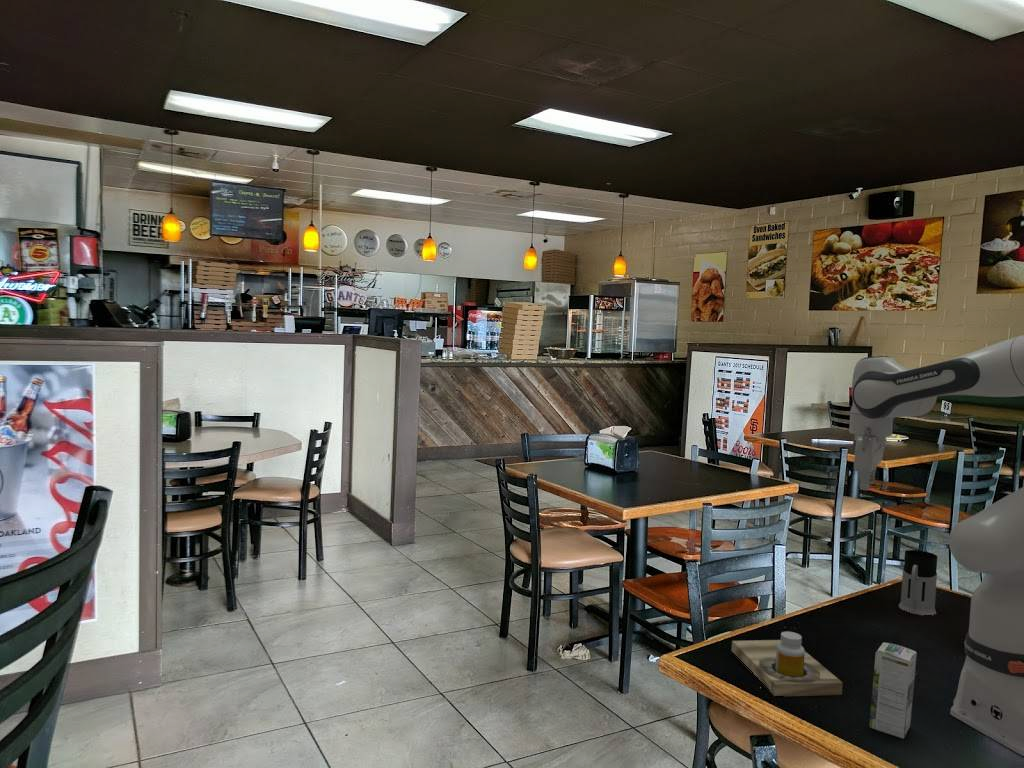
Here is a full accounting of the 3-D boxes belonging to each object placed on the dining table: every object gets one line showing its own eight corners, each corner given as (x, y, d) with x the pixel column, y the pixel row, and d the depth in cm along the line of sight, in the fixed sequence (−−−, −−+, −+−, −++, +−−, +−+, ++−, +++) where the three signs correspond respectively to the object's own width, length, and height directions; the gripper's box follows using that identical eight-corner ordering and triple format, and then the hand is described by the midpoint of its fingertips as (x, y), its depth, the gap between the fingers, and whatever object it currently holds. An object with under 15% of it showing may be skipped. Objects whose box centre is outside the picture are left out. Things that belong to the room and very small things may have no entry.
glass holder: (938, 609, 188) (942, 554, 187) (929, 624, 177) (933, 566, 176) (902, 600, 194) (905, 547, 193) (890, 615, 183) (894, 558, 182)
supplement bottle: (807, 688, 142) (810, 641, 141) (780, 687, 142) (783, 640, 141) (796, 675, 147) (799, 630, 147) (771, 674, 147) (773, 629, 147)
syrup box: (876, 715, 132) (881, 640, 131) (911, 727, 128) (917, 649, 127) (868, 728, 128) (873, 650, 127) (905, 740, 124) (911, 660, 123)
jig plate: (841, 694, 140) (842, 682, 139) (774, 696, 138) (775, 684, 138) (790, 650, 159) (791, 639, 159) (731, 651, 158) (732, 640, 158)
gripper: (880, 432, 151) (876, 495, 152) (890, 424, 168) (887, 481, 169) (848, 429, 154) (844, 491, 155) (861, 422, 172) (858, 478, 172)
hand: (866, 486), depth 162 cm, fingers open, 8 cm apart
